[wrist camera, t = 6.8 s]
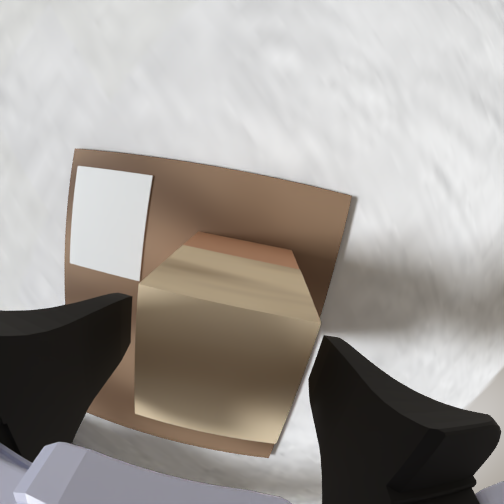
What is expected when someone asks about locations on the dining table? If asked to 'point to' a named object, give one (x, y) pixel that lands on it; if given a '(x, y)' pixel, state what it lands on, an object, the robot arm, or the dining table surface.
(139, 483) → the robot arm
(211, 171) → the build board
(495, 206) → the dining table surface
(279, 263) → the terracotta base block
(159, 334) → the maple block
